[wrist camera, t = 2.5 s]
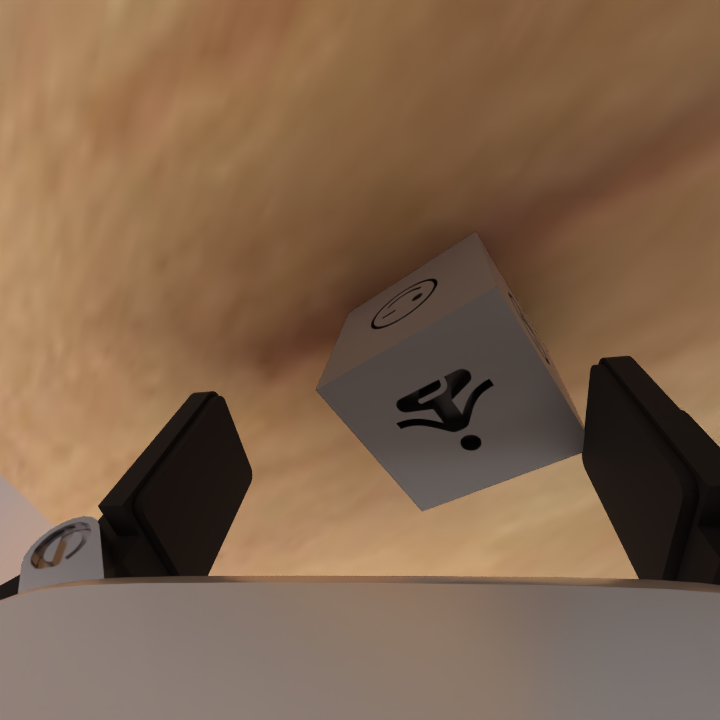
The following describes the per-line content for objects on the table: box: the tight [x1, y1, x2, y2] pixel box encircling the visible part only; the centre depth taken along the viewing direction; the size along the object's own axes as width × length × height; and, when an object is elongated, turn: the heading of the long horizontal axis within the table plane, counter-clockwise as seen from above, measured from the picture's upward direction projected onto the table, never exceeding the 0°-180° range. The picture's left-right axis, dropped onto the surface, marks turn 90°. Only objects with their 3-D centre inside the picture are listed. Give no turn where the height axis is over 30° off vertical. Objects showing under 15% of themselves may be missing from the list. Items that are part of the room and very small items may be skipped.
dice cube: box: [316, 231, 585, 511], centre depth 13 cm, size 5×5×5 cm
